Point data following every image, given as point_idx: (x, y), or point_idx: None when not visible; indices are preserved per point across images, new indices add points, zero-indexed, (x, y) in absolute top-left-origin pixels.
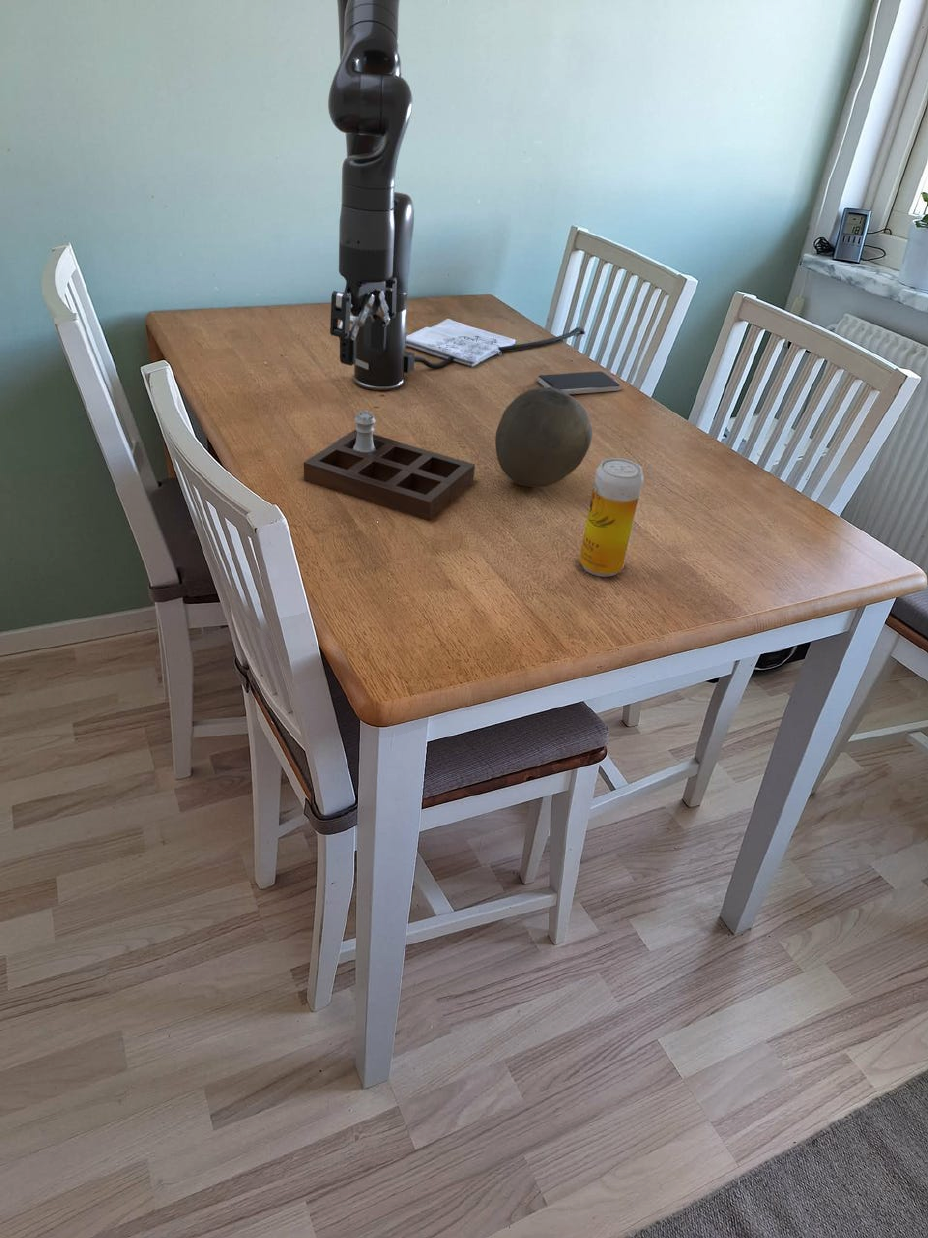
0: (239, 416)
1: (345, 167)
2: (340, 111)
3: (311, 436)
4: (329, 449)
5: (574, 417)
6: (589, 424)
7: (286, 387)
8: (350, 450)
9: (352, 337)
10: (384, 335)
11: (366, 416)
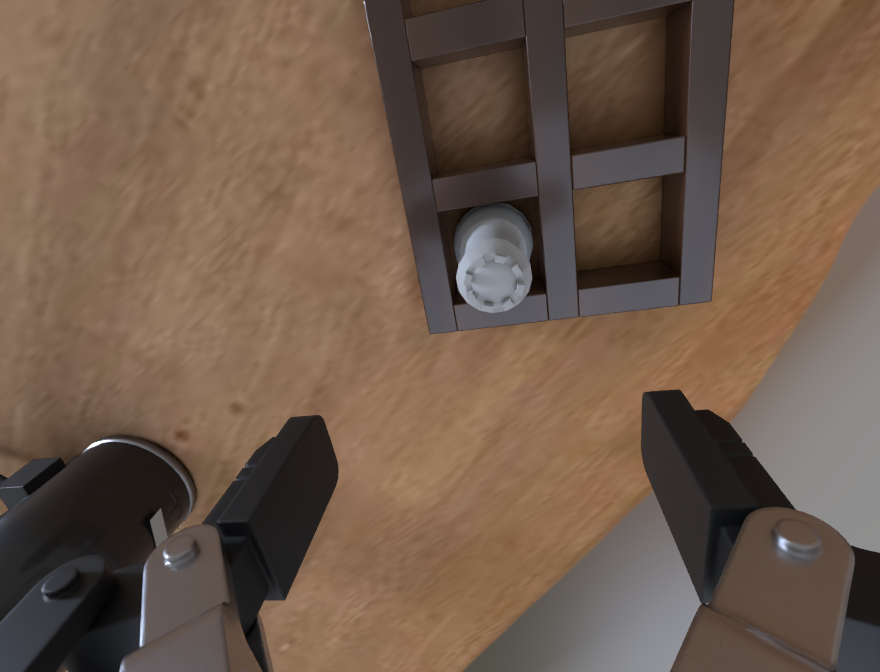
0: (504, 558)
1: None
2: None
3: (471, 415)
4: (593, 302)
5: None
6: None
7: (330, 574)
8: (557, 255)
9: (823, 531)
10: (272, 471)
11: (493, 277)
